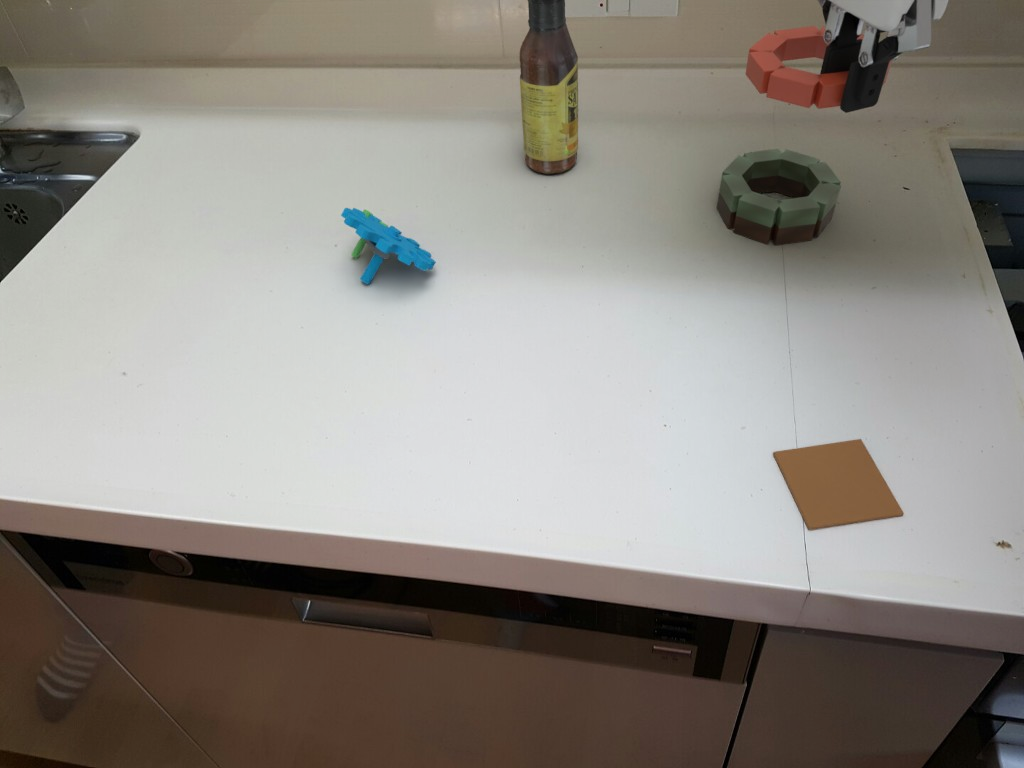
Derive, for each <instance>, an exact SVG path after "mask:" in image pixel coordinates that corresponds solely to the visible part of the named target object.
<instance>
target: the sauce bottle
mask: <svg viewBox="0 0 1024 768" xmlns="http://www.w3.org/2000/svg"><path fill="white" fill-rule="evenodd" d="M527 4H528V7H527V8H528V20H527V23H528V28H529V29H528V31H527V34H526V35H525V37H524V39H523V41H522V42H521V46H520V49H519V68H520V75H519V86H520V88H519V89H520V102H521V103H520V105H521V117H522V118H521V120H522V121H521V123H522V124H521V125H522V136H523V137H522V138H523V151H524V153H525V157H524V158H525V164H526V165H527V166H528V168H529V169H531V170H533V171H534V172H536V173H540V174H543V175H544V174H546V175H548V174H550V175H551V174H560V173H563V172H566V171H568V170H569V169H571V168H572V167H573V166H574V165H575V164H576V161H577V159H578V158H577V156H578V150H579V62H578V61H579V57H578V54H577V51H576V48H575V45H574V43H573V40H572V38H571V34H570V32H569V27H568V25H567V20H566V19H567V17H566V0H527Z"/></svg>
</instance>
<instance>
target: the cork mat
mask: <svg viewBox="0 0 1024 768" xmlns="http://www.w3.org/2000/svg"><path fill="white" fill-rule="evenodd" d="M772 455H773V457H774V459H775V460H776V463H777V465H778V467H779V470H780V472H781V474H782V476H783V478H784V480H785V483H786V485H787V488H788V489H789V492H790V493H791V496H792V498H793V499H794V502H795V504H796V506H797V509H798V510H799V512H800V515H801V517H802V519H803V522H804V524H805V526H806V527H807V530H808V531H812V530H817V529H825V528H831V527H838V526H844V525H851V524H857V523H864V522H870V521H877V520H883V519H890V518H897V517H902V516H904V514H905V513H904V511H903V509H902V507H901V506H900V504H899V502H898V501H897V499H896V497H895V496H894V494H893V492H892V490H891V488H890V487H889V485H888V483H887V482H886V479H885V478H884V476H883V474H882V473H881V471H880V469H879V468H878V466H877V464H876V462H875V461H874V459H873V457H872V456H871V454H870V452H869V451H868V448H867V447H866V445H865V443H864V442H863V439H861V438H857V439H853V440H852V439H851V440H850V439H849V440H845V441H837V442H830V443H824V444H818V445H810V446H803V447H798V448H797V447H796V448H791V449H782V450H776V451H773V453H772Z"/></svg>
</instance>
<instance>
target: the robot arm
mask: <svg viewBox="0 0 1024 768" xmlns="http://www.w3.org/2000/svg"><path fill="white" fill-rule="evenodd" d="M817 2H818V4H819V6H820V7H821V8H822V11H821V12H822V15H823V18H824V23H825V30H824V34H823V39H824V42H825V43H826V44H829V46H826V51H825V55H824V59H822V64H821V69H820V72H819V75H820V74H828V73H836V72H844V71H849V73H848V76H847V80H846V84H845V88H844V92H843V96H842V100H841V104H840V106H839V109H840V110H841V111H842V112H844V113H845V114H847V113H852V112H856V111H860V110H864V109H867V108H872V107H875V106H876V105H877V104H878V101H879V99H880V95H881V93H882V88H883V86H884V85H883V82H884V78H885V75H886V72H887V68H888V65H889V61H892V62H893V61H895V60H897V59H898V58H899V56H900V55H901V54H903V53H908V52H909V53H910V52H916V51H919V50H924V49H927V48H929V47H930V46H931V44H932V23H933V22H937V21H939V20H941V19H942V17H943V16H944V14H945V12H946V9H947V6H948V4H949V0H817ZM864 25H865V26H864ZM863 29H864V30H863ZM862 32H863V39H857V38H858V37H860V35H861V34H862ZM883 33H886V36H885V38H882V39H881V40H880V38H881V34H883ZM882 85H883V86H882Z"/></svg>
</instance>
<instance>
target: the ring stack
mask: <svg viewBox="0 0 1024 768" xmlns="http://www.w3.org/2000/svg"><path fill="white" fill-rule="evenodd" d="M841 183H842V182H841V181H840V179H839V177H838V176H837V175H836V174H835V173H834V171H833V170H832V169H831V168H830V166H829V165H828V164H827V162H821V159H820V158H817V157H814V156H810V155H807V154H803V153H799V152H797V151H793V150H790V149H784V151H781V150H780V149H779V148H774V149H773V148H772V149H765V150H758V151H757V150H756V151H750V152H749V151H748V152H744V153H743V156H742V155H737V156H736V158H734V159H733V161H732V162H730V163H729V164H728V165H727V167H726V168H724V169H723V171H722V172H721V178H720V183H719V184H720V185H719V189H718V190H719V191H718V196H717V197H718V198H717V203H716V210H717V212H718V214H719V215H720V217H721V219H722V220H723V222H724V224H725V226H726V229H729V230H730V229H732V233H734V234H736V235H740V236H742V237H745V238H747V239H750V240H753V241H756V242H760V243H762V244H765V245H769V244H770V242H772V243H773V245H775V246H778V245H786V244H787V245H788V244H794V243H802V242H807V241H808V242H810V241H812V239H813V238H817V239H818V238H819V236H820V235H821V234H822V232H823V231H824V229H825V228H826V227H827V226H828V224H829V223H830V222H831V221H832V219H833V216H834V212H835V208H836V205H837V202H838V198H839V195H840V191H841V188H842V186H841ZM773 192H774V193H778V194H782V195H784V196H788V197H790V198H785V199H784V198H783V199H778V198H774V197H772V196H769V195H765V194H766V193H773Z"/></svg>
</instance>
